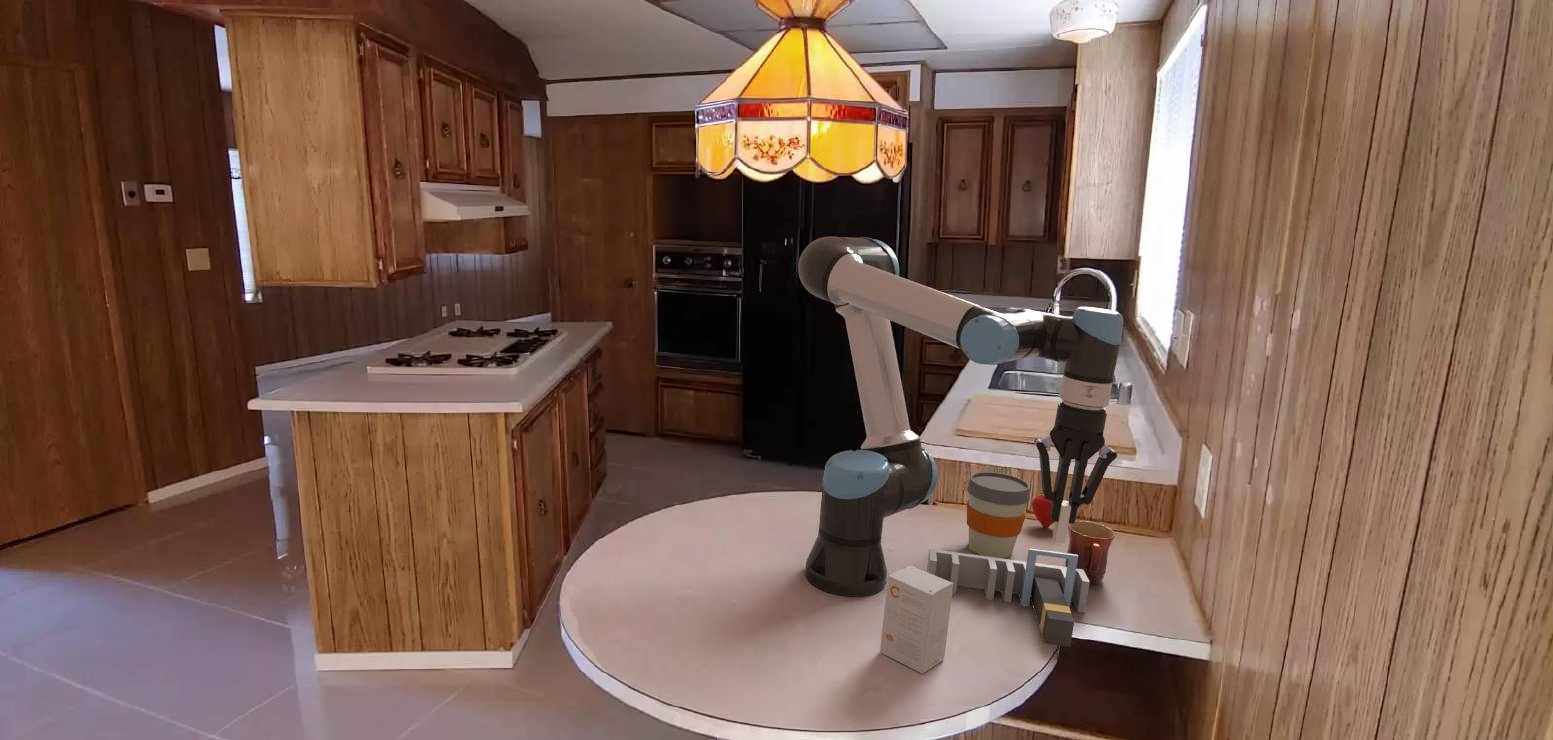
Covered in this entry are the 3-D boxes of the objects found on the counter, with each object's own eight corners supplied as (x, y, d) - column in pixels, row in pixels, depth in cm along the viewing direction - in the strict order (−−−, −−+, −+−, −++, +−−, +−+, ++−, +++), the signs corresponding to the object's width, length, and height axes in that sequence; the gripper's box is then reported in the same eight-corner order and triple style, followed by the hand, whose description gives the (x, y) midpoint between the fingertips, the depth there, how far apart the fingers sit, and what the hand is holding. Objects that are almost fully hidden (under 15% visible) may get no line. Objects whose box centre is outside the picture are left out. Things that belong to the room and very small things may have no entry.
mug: (1057, 565, 162) (1064, 518, 160) (1102, 572, 161) (1110, 524, 158) (1066, 592, 151) (1074, 541, 149) (1114, 599, 149) (1123, 548, 147)
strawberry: (1023, 522, 184) (1029, 481, 182) (1053, 522, 186) (1059, 481, 184) (1035, 532, 179) (1042, 490, 177) (1066, 532, 180) (1073, 490, 178)
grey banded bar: (1044, 643, 131) (1048, 617, 130) (1030, 598, 147) (1033, 575, 146) (1070, 647, 131) (1074, 621, 130) (1053, 601, 146) (1057, 578, 145)
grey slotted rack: (926, 590, 146) (930, 560, 145) (925, 578, 152) (929, 548, 150) (1084, 613, 143) (1089, 582, 142) (1078, 599, 148) (1083, 569, 147)
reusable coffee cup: (1025, 566, 161) (1035, 495, 158) (962, 557, 162) (971, 487, 159) (1016, 541, 173) (1026, 475, 170) (958, 533, 175) (966, 468, 172)
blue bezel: (1020, 605, 144) (1029, 549, 142) (1020, 604, 144) (1028, 548, 142) (1069, 612, 143) (1078, 556, 140) (1068, 610, 143) (1077, 554, 141)
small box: (944, 660, 124) (955, 582, 121) (922, 675, 119) (932, 595, 117) (901, 638, 129) (910, 564, 127) (878, 652, 125) (887, 575, 122)
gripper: (1045, 404, 126) (1021, 542, 131) (1131, 415, 124) (1104, 555, 129) (1038, 393, 133) (1015, 525, 138) (1119, 403, 131) (1093, 536, 136)
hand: (1058, 539), depth 134 cm, fingers closed
